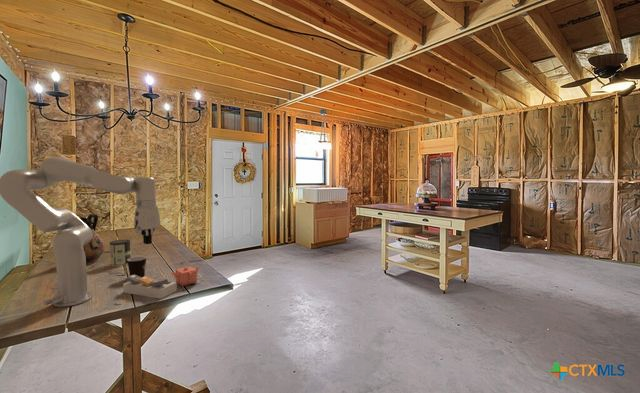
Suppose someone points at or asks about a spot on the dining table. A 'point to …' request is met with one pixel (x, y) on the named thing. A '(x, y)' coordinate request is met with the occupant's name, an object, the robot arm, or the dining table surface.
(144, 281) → the rocker
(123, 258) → the coffee can
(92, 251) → the ceramic jug
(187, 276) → the teapot
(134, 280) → the rocker
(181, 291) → the dining table surface
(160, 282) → the rocker
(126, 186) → the robot arm
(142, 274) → the coffee mug
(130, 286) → the power strip
